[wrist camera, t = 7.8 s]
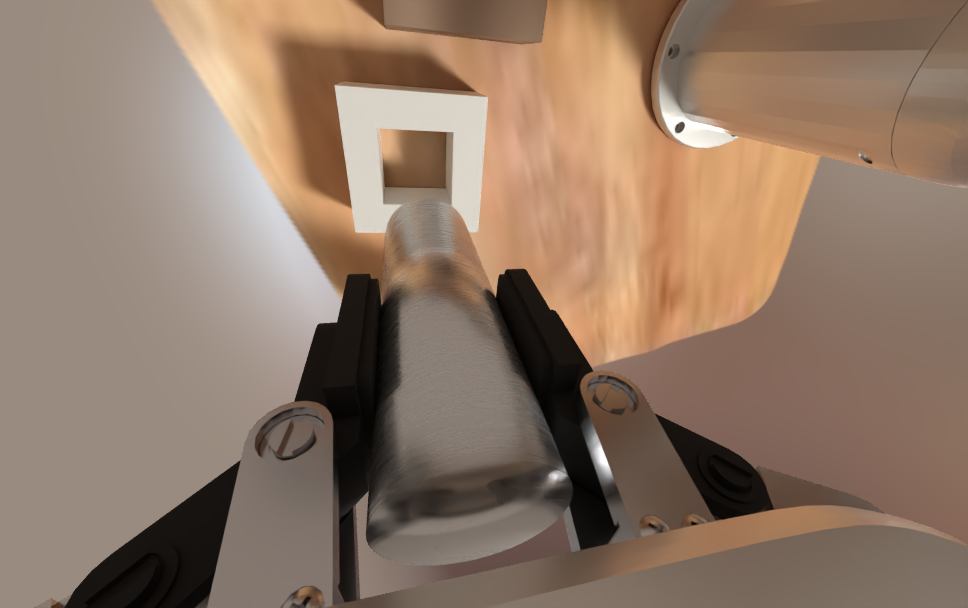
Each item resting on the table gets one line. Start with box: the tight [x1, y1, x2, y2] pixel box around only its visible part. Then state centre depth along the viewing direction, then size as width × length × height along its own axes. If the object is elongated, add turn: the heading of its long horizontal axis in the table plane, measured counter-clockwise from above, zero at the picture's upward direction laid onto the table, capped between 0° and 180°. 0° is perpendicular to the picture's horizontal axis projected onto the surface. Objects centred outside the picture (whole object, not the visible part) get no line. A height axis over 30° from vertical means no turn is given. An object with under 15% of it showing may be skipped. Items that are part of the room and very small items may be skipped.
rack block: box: [335, 81, 488, 233], centre depth 25 cm, size 9×9×4 cm
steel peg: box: [366, 198, 573, 565], centre depth 10 cm, size 3×3×11 cm
